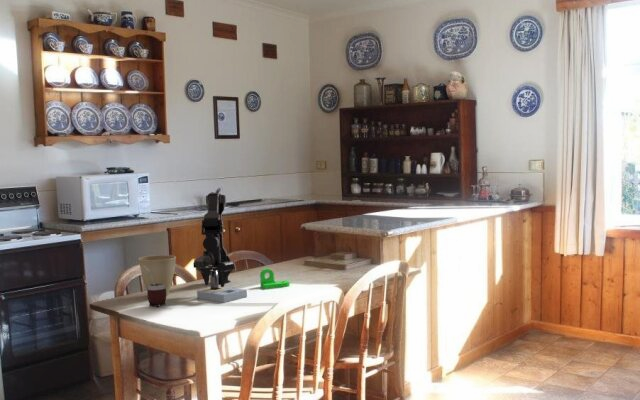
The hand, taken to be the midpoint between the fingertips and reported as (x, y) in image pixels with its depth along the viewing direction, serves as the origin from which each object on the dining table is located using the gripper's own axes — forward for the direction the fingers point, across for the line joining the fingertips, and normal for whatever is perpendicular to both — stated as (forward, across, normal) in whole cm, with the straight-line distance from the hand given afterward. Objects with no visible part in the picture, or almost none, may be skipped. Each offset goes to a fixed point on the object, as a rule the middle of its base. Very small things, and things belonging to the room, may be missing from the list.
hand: (214, 286), depth 265 cm
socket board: (+4, +4, 0) cm, 6 cm away
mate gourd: (+4, -8, -23) cm, 25 cm away
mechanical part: (+5, +8, +28) cm, 29 cm away
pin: (+4, 0, 0) cm, 4 cm away
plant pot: (+4, -22, -11) cm, 25 cm away
